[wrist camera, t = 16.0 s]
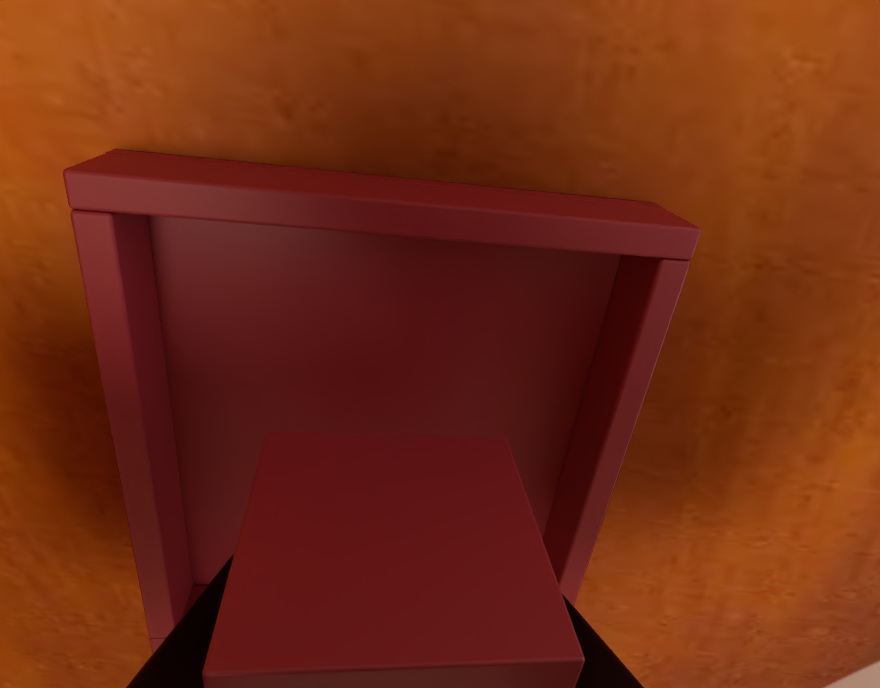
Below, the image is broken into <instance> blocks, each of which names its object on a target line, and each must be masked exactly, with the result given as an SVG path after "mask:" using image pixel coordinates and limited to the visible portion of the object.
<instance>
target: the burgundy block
mask: <svg viewBox="0 0 880 688" xmlns="http://www.w3.org/2000/svg"><path fill="white" fill-rule="evenodd" d="M584 661H585V658H584V655H583V652H582V649H581V647H580V644H579V641H578V638H577V635H576V633H575V630H574V627H573V624H572V621H571V619H570V616H569V613H568V610H567V607H566V605H565V602H564V599H563V596H562V593H561V590H560V588H559V585H558V582H557V579H556V576H555V574H554V571H553V568H552V565H551V562H550V560H549V557H548V554H547V551H546V548H545V546H544V543H543V540H542V537H541V534H540V532H539V529H538V526H537V523H536V520H535V518H534V515H533V512H532V509H531V506H530V504H529V501H528V498H527V495H526V492H525V490H524V487H523V484H522V481H521V478H520V475H519V473H518V470H517V467H516V464H515V461H514V459H513V456H512V453H511V450H510V447H509V445H508V442H507V439H506V438H505V437H480V436H442V435H404V434H366V433H328V432H291V431H268V432H267V433H266V436H265V440H264V444H263V448H262V451H261V455H260V459H259V463H258V466H257V470H256V474H255V478H254V481H253V485H252V489H251V493H250V496H249V500H248V504H247V508H246V511H245V515H244V519H243V523H242V526H241V530H240V534H239V538H238V541H237V545H236V549H235V553H234V556H233V560H232V564H231V568H230V571H229V575H228V579H227V583H226V586H225V590H224V594H223V598H222V601H221V605H220V609H219V612H218V616H217V620H216V624H215V627H214V631H213V635H212V639H211V642H210V646H209V650H208V654H207V657H206V661H205V665H204V669H203V672H202V676H203V684H204V688H575V686H576V683H577V680H578V678H579V675H580V672H581V670H582V667H583V664H584Z"/></svg>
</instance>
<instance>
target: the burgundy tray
mask: <svg viewBox="0 0 880 688" xmlns="http://www.w3.org/2000/svg"><path fill="white" fill-rule="evenodd" d="M63 176H64V182H65V187H66V193H67V198H68V203H69V206H70V208H73V210H72V211H71V219H72V225H73V230H74V235H75V241H76V246H77V251H78V257H79V262H80V268H81V273H82V278H83V284H84V289H85V294H86V300H87V305H88V310H89V316H90V321H91V326H92V332H93V337H94V343H95V348H96V353H97V359H98V364H99V369H100V375H101V380H102V385H103V391H104V396H105V401H106V407H107V412H108V417H109V423H110V428H111V434H112V439H113V444H114V450H115V455H116V460H117V466H118V471H119V476H120V482H121V487H122V492H123V498H124V503H125V509H126V514H127V519H128V525H129V530H130V535H131V541H132V546H133V551H134V557H135V562H136V567H137V573H138V578H139V584H140V589H141V594H142V600H143V605H144V610H145V616H146V621H147V626H148V632H149V637H150V642H151V648H152V653H154V652H155V651H156V650H157V648H158V647H159V646H160V645H161V643H162V642H163V641H164V640H165V638H166V637H167V636H168V635H169V633H170V632H171V631H172V630H173V628H174V627H175V626H176V625H177V623H178V622H179V621H180V620H181V618H182V617H183V616H184V615H185V613H186V612H187V611H188V610H189V608H190V607H191V606H192V605H193V603H194V602H195V601H196V600H197V598H198V597H199V596H200V595H201V593H202V592H203V591H204V590H205V588H206V587H207V586H208V585H209V583H210V582H211V581H212V580H213V578H214V577H215V576H216V575H217V573H218V572H219V571H220V570H221V568H222V567H223V566H224V565H225V563H226V562H227V561H228V560H229V558H230V557H231V556H232V555H233V554H234V553H235V549H236V545H237V541H238V538H239V534H240V530H241V526H242V523H243V519H244V515H245V511H246V508H247V504H248V500H249V496H250V493H251V489H252V485H253V481H254V478H255V474H256V470H257V466H258V463H259V459H260V455H261V451H262V448H263V444H264V440H265V436H266V433H267V432H268V431H291V432H328V433H366V434H404V435H442V436H480V437H505V438H506V439H507V442H508V445H509V447H510V450H511V453H512V456H513V459H514V461H515V464H516V467H517V470H518V473H519V475H520V478H521V481H522V484H523V487H524V490H525V492H526V495H527V498H528V501H529V504H530V506H531V509H532V512H533V515H534V518H535V520H536V523H537V526H538V529H539V532H540V534H541V537H542V540H543V543H544V546H545V548H546V551H547V554H548V557H549V560H550V562H551V565H552V568H553V571H554V574H555V576H556V579H557V582H558V585H559V588H560V590H561V592H562V594H563V595H564V596H565V597H566V598H567V599H568V601H569V602H570V603H571V604H572V605H573V606H574V604H575V601H576V598H577V595H578V592H579V590H580V587H581V584H582V581H583V578H584V575H585V572H586V569H587V566H588V563H589V560H590V557H591V554H592V551H593V548H594V545H595V543H596V540H597V537H598V534H599V531H600V528H601V525H602V522H603V519H604V516H605V513H606V510H607V507H608V504H609V501H610V498H611V496H612V493H613V490H614V487H615V484H616V481H617V478H618V475H619V472H620V469H621V466H622V463H623V460H624V457H625V454H626V451H627V449H628V446H629V443H630V440H631V437H632V434H633V431H634V428H635V425H636V422H637V419H638V416H639V413H640V410H641V407H642V404H643V402H644V399H645V396H646V393H647V390H648V387H649V384H650V381H651V378H652V375H653V372H654V369H655V366H656V363H657V360H658V357H659V355H660V352H661V349H662V346H663V343H664V340H665V337H666V334H667V331H668V328H669V325H670V322H671V319H672V316H673V313H674V310H675V308H676V305H677V302H678V299H679V296H680V293H681V290H682V287H683V284H684V281H685V278H686V275H687V272H688V269H689V266H690V262H689V261H688V260H690V259H692V257H693V255H694V252H695V249H696V246H697V243H698V240H699V237H700V234H701V229H700V228H699V227H697V226H695V225H693V224H691V223H689V222H687V221H686V220H684V219H682V218H680V217H678V216H676V215H674V214H673V213H671V212H669V211H667V210H665V209H663V208H662V207H660V206H659V205H657V204H655V203H651V202H641V201H631V200H621V199H611V198H601V197H591V196H581V195H571V194H561V193H551V192H541V191H531V190H520V189H510V188H500V187H490V186H480V185H470V184H460V183H450V182H440V181H430V180H420V179H410V178H400V177H390V176H379V175H369V174H359V173H349V172H339V171H329V170H319V169H309V168H299V167H289V166H279V165H269V164H259V163H249V162H239V161H228V160H218V159H208V158H198V157H188V156H178V155H168V154H158V153H148V152H138V151H128V150H118V149H114V150H111V151H109V152H106V154H103V155H100V156H98V157H95V158H93V159H90V160H88V161H85V162H82V163H80V164H77V165H75V166H72V167H70V168H67V169H64V171H63Z"/></svg>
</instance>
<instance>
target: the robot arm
mask: <svg viewBox="0 0 880 688" xmlns="http://www.w3.org/2000/svg"><path fill="white" fill-rule="evenodd" d="M233 556H234V554H233V555H232V556H231V557H230V558H229V560H228V561H227V562H226V563H225V565H224V566H223V567H222V568H221V570H220V571H219V572H218V573H217V575H216V576H215V577H214V578H213V580H212V581H211V582H210V583H209V585H208V586H207V587H206V588H205V590H204V591H203V592H202V593H201V595H200V596H199V597H198V598H197V600H196V601H195V602H194V603H193V605H192V606H191V607H190V608H189V610H188V611H187V612H186V613H185V615H184V616H183V617H182V618H181V620H180V621H179V622H178V623H177V625H176V626H175V627H174V628H173V630H172V631H171V632H170V633H169V635H168V636H167V637H166V638H165V640H164V641H163V642H162V643H161V645H160V646H159V647H158V648H157V650H156V651H155V652H154V653H153V655H152V656H151V657H150V658H149V660H148V661H147V662H146V663H145V665H144V666H143V667H142V668H141V670H140V671H139V672H138V673H137V675H136V676H135V677H134V679H133V680H132V681H131V682H130V684H129V685H128V686H127V687H126V688H204V684H203V676H202V672H203V669H204V665H205V661H206V657H207V654H208V650H209V646H210V642H211V639H212V635H213V631H214V627H215V624H216V620H217V616H218V612H219V609H220V605H221V601H222V598H223V594H224V590H225V586H226V583H227V579H228V575H229V571H230V568H231V564H232V560H233ZM561 593H562V592H561ZM562 596H563V599H564V602H565V605H566V607H567V610H568V613H569V616H570V619H571V621H572V624H573V627H574V630H575V633H576V635H577V638H578V641H579V644H580V647H581V649H582V652H583V655H584V658H585V661H584V664H583V667H582V670H581V672H580V675H579V678H578V680H577V683H576V686H575V688H644V687H643V686H642V685H641V684H640V683H639V682H638V680H637V679H636V678H635V677H634V676H633V675H632V673H631V672H630V671H629V670H628V669H627V668H626V666H625V665H624V664H623V663H622V662H621V661H620V660H619V658H618V657H617V656H616V655H615V654H614V653H613V651H612V650H611V649H610V648H609V647H608V646H607V645H606V643H605V642H604V641H603V640H602V639H601V638H600V636H599V635H598V634H597V633H596V632H595V631H594V629H593V628H592V627H591V626H590V625H589V624H588V623H587V621H586V620H585V619H584V618H583V617H582V616H581V614H580V613H579V612H578V611H577V610H576V609H575V608H574V606H573V605H572V604H571V603H570V602H569V601H568V599H567V598H566V597H565V596H564V595H563V594H562Z"/></svg>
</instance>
